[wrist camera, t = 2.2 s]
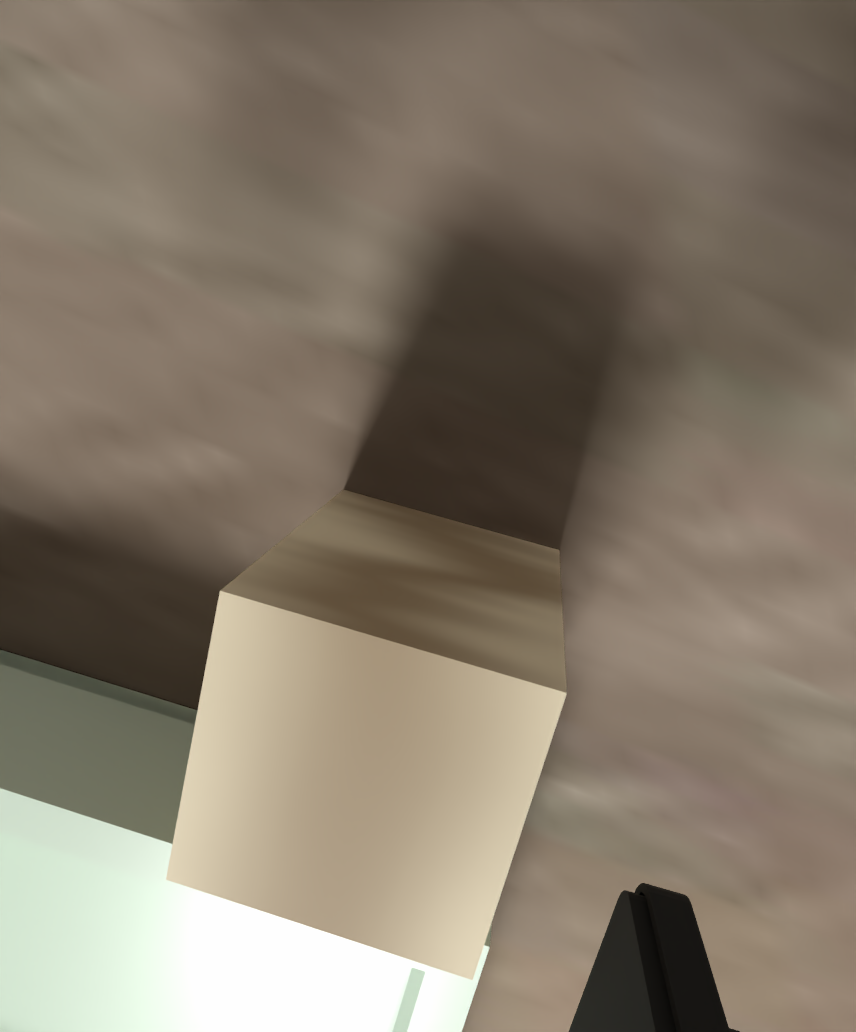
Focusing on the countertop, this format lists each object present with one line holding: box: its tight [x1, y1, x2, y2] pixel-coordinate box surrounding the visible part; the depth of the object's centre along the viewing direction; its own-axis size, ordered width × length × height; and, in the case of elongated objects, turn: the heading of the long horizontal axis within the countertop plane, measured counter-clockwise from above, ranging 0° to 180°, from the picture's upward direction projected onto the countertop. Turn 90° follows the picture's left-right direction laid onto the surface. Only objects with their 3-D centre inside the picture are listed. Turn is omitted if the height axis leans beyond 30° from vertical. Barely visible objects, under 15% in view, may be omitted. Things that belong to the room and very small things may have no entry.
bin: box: [0, 650, 492, 1032], centre depth 20 cm, size 16×16×4 cm
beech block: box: [166, 490, 567, 980], centre depth 15 cm, size 5×5×7 cm
